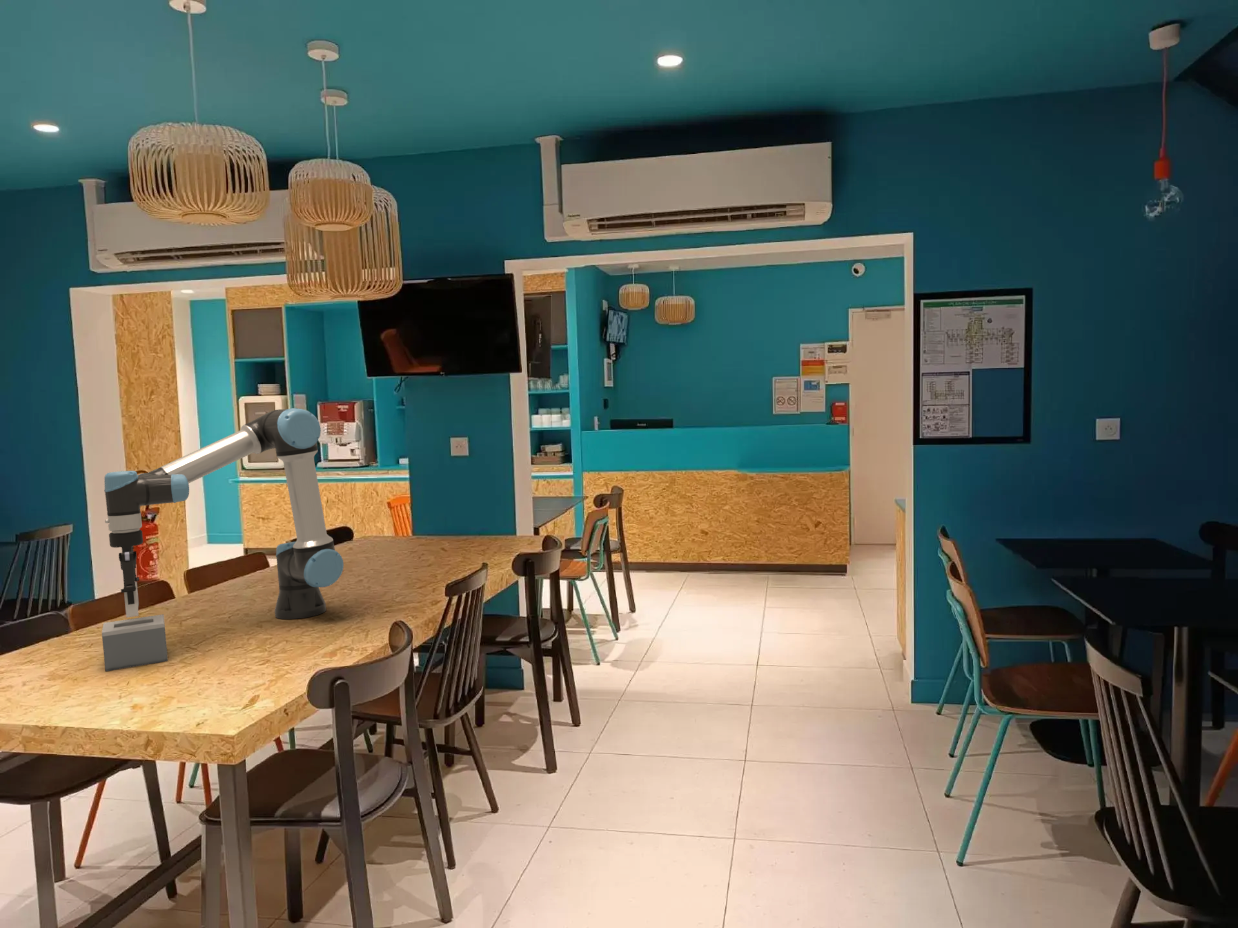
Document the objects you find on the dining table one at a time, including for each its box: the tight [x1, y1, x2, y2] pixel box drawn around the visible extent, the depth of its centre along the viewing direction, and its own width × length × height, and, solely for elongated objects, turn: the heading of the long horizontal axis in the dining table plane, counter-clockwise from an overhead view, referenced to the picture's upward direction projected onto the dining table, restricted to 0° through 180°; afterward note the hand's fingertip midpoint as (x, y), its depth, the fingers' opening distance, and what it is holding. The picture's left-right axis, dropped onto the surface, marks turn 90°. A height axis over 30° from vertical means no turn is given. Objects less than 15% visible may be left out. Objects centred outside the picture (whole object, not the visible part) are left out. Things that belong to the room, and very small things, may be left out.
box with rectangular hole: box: [101, 614, 169, 672], centre depth 223 cm, size 14×12×10 cm
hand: (132, 611), depth 222 cm, fingers open, 13 cm apart
